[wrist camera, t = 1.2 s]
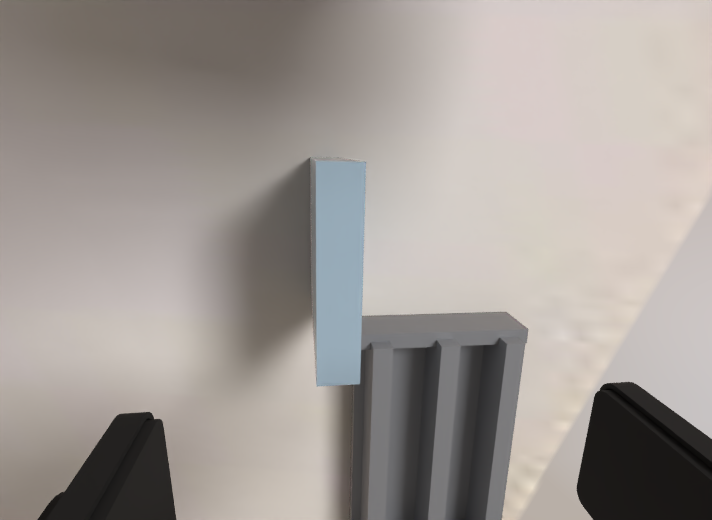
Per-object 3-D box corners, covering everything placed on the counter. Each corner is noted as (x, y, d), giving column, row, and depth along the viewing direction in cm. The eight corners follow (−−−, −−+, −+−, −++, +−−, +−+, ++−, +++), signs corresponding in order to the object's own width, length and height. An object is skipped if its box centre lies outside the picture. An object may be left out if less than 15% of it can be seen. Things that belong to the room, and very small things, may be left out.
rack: (354, 316, 28) (362, 342, 24) (506, 311, 30) (536, 335, 26) (349, 528, 33) (356, 578, 29) (481, 515, 34) (504, 561, 30)
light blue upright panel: (310, 157, 25) (316, 161, 15) (339, 157, 25) (365, 161, 15) (311, 296, 28) (316, 386, 17) (337, 295, 28) (360, 384, 17)
